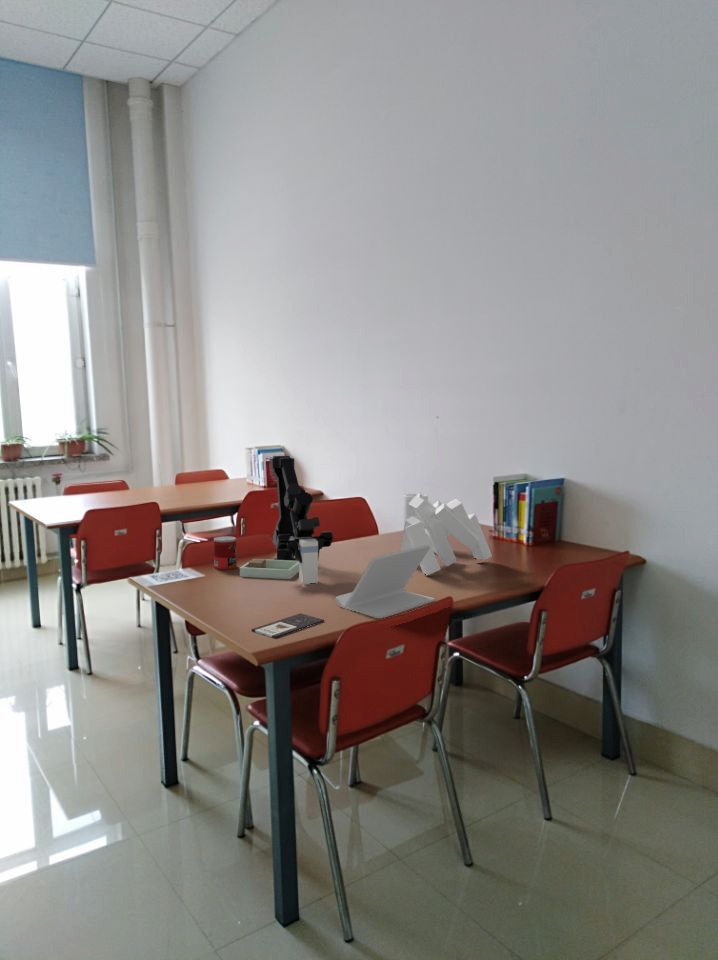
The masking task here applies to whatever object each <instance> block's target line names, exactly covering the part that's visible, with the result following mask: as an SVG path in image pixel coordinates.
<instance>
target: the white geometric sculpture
mask: <svg viewBox="0 0 718 960" xmlns="http://www.w3.org/2000/svg"><path fill="white" fill-rule="evenodd" d="M417 494H418V495H416V496H415V497H414V498H413V499H412V500H411V502H410V503H409V506H410V507H411V508H412V509H413V511H414V512H415V513H416V514H417V516H418V517H419V518H420V520H421V521H422V522H421V521H420V520H418V519H416V518H415V517H410V518H408V519H406V520H405V522H404V524H403V531H402V532H403V533H402V539H401V549H400V551H403V550H407V549H412V548H416V547H420V546H424V545H429V546H430V549H429V550H428V552H427V553H426V555H425V557H424V558H423V560H422V561H421V563H420V564H419V566H420V569H421V571H422V574H423V573H425V574H426V575H425V576H430V575H432V574H433V573H437V572H438V571H440V570H442V569H441V567H440V565H439V562H438V559H439V560H440V562H441V563H443V565H444V566H446V567H449V566H450V565H452V564H455V562H457V561H458V560H457V558H456V556H455V555H456V554H455V553H454V550H453V548H452V546H451V543H450V540H449V538H448V537H449V536H450V535H453V536H454V537H455V538H456V539H457V540H458V541H459V543H461V544H462V545H464V546H466V547H467V548H468V549H469V550H470V551H471V554H472V556H473V558H477V559H483V560H485V559H488V558H490V557H491V558H492V556H493V555H492V552H491V550H490V547H489V545H488V541H487V540H486V537H485V535H484V532H483V529H482V528H481V524H480V522H479V519H478V517H477V514H476V513H469V514H468V513H467V511H466V509H465V508H464V506H463V503H462V502H461V501H460V500H458V499H457V498H454V499H452V500H451V501H449V502H447V503H445V502H443V503H442V502H441V501H440V500H437V501H436V502H434V503H433V504H432V503H431V502H430V501H429V499H428V500H427V499H426V498H425V497H424V496H423V495H422V494H423V493H421V492H418V493H417ZM423 523H424V525H425V526H426V529H425V528H424V527H423ZM436 555H438V559H437V556H436ZM491 558H490V559H491Z"/></svg>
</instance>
